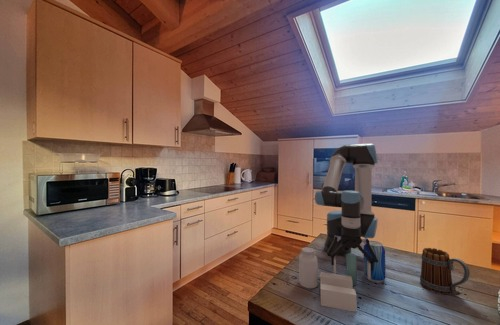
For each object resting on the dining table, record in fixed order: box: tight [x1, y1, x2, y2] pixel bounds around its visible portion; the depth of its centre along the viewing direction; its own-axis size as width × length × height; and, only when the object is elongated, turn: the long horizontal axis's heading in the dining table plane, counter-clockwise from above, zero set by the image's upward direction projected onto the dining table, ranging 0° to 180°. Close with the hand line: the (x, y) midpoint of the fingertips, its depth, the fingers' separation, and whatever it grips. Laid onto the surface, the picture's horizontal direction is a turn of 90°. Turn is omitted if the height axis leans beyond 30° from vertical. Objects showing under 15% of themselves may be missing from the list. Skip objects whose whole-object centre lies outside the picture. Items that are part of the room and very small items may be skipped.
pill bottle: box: [298, 246, 319, 289], centre depth 91 cm, size 8×8×15 cm
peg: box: [345, 253, 358, 286], centre depth 92 cm, size 4×4×12 cm
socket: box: [319, 271, 358, 313], centre depth 82 cm, size 13×12×6 cm
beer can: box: [363, 240, 386, 284], centre depth 95 cm, size 8×8×16 cm
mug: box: [419, 247, 471, 296], centre depth 86 cm, size 16×11×15 cm
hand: (351, 274), depth 92 cm, fingers open, 13 cm apart
